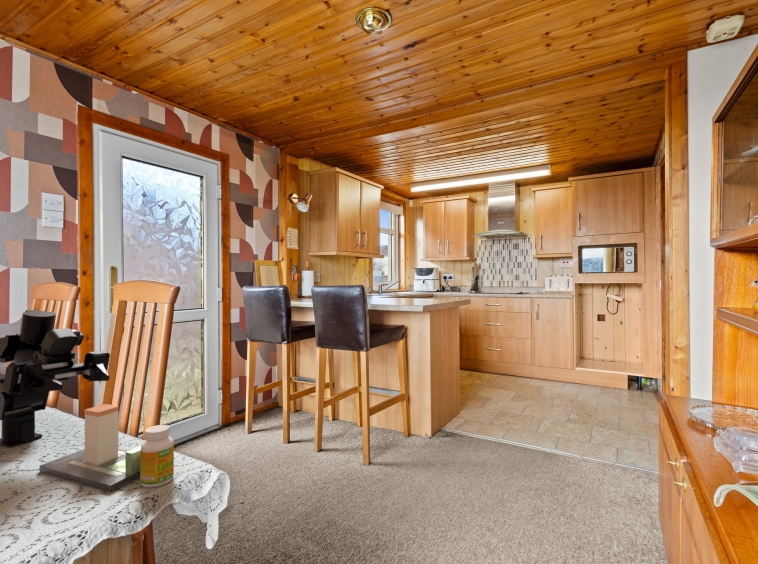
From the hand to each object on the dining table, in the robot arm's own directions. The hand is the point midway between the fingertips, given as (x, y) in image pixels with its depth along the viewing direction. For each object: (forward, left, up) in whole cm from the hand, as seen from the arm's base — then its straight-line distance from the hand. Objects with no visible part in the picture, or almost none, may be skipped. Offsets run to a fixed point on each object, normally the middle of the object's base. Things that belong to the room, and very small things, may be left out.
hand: (86, 382), depth 82 cm
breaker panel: (+8, -1, -16) cm, 18 cm away
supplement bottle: (+22, -1, -16) cm, 27 cm away
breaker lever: (+6, 0, -15) cm, 16 cm away
